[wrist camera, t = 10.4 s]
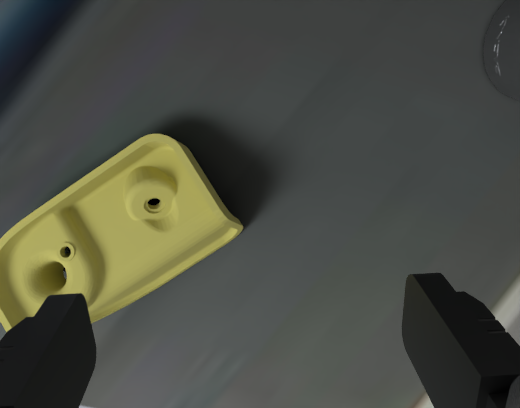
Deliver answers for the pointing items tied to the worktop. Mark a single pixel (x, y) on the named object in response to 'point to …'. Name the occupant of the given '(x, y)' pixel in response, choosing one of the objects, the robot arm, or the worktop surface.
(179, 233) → the plastic component
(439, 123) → the worktop surface
